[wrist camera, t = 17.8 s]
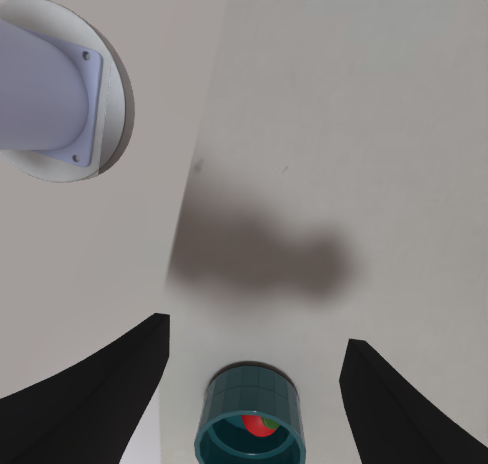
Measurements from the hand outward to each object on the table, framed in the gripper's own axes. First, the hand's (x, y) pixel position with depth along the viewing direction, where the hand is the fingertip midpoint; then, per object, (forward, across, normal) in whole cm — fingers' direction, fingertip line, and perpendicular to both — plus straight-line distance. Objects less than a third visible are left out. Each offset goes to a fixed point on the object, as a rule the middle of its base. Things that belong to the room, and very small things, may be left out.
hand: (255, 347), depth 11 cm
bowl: (+10, -1, +13) cm, 16 cm away
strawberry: (+8, -1, +13) cm, 16 cm away
